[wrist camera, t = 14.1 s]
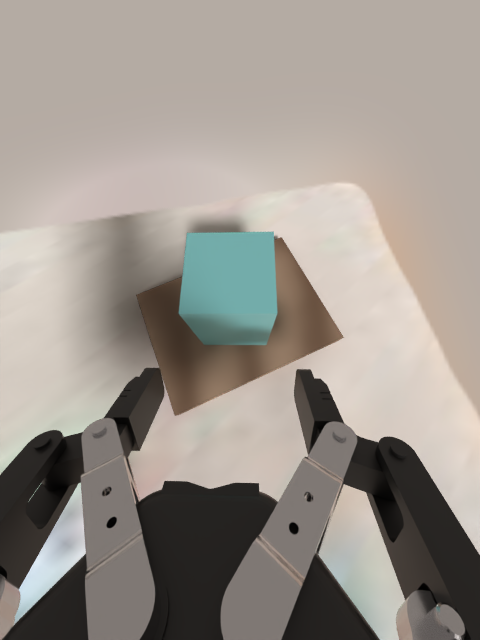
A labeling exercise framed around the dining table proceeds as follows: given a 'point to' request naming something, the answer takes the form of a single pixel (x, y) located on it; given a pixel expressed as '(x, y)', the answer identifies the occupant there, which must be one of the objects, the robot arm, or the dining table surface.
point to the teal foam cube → (229, 287)
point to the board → (234, 360)
